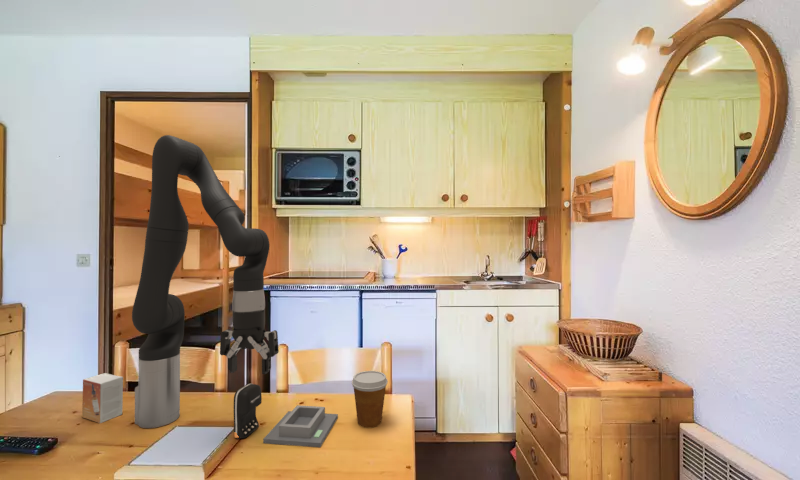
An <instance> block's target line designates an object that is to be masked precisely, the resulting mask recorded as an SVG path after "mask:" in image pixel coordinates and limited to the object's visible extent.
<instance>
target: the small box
mask: <svg viewBox="0 0 800 480" xmlns="http://www.w3.org/2000/svg"><path fill="white" fill-rule="evenodd" d="M123 393H124V377H123V376H121V375H120V376H119V375H115V374H111V373H108V372H104V373H101V374H97V375H94V376H90V377H86V378H83V379H82V406H81V407H82V414H81V417H82V419H83V418H84V419H87V420H90V421H92V422H95V423H98V424H102V423H105V422H106V421H109V420H111V419H114V418H117V417H119V416H121V415H123V404H124V401H123V395H124V394H123Z"/></svg>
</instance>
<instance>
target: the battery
mask: <svg viewBox="0 0 800 480" xmlns="http://www.w3.org/2000/svg"><path fill="white" fill-rule="evenodd" d="M262 397H263V396H262V388H261V386H260V385H259V384H254V383H247V384H245V385H244V386H242V387H239V389H237V390H236V391H235V393H234V396H233V433H234V432H236V433H237V435H238V436H239V438H238V439H246V438H248V437H249V436H251V434H253V433H254V432H255V431H256V430H257V429H258V428H259V426H260V425H259V424H260V423H259V421H258V419H257V407H259V406H260V405H261V404H262V399H263V398H262Z"/></svg>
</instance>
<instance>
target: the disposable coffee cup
mask: <svg viewBox="0 0 800 480" xmlns="http://www.w3.org/2000/svg"><path fill="white" fill-rule="evenodd" d="M351 385H352V387H353V392H354V393H353V394H354V401H355V410H356V419H357V424H358V426H360V427H362V428H367V429H369V428H376V427H378V426H379V425H381V424H382V421H383V420H382V419H383V411H384V405H385V395H386V386H387V385H388V378H387V375H386V374H385V373H384V372H381V371H377V370H365V371H360V372H358V373H355V374H354V376H353V379H351Z"/></svg>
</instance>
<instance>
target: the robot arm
mask: <svg viewBox="0 0 800 480" xmlns="http://www.w3.org/2000/svg"><path fill="white" fill-rule="evenodd" d="M151 156H152V157H151V163H152V164H151V194H150V196H151V197H150V205H149V213H148V221H147V224H146V226H147V228H146V234H145V241H144V242H145V243H144V250H143V257H142V263H141V264H142V265H141V271H140V272H141V273H140V279H139V283H138V287H137V290H136V295H135V298H134V302H133V306H132V311H131V320H132V324H133V326H134V328H135V329H136V331H138V332H139V333H142V334H144V335H147V337H146V339H145V341H144V342H143V343H142V345H140V347H139V349H138V385H137V386H135V387H134V425H137V426H138V427H140V428H142V429H154V428H159V427H163V426H165V425H166V426H167V425H169V424H171V423H174V422H175V421H176V420H177V419H179V418H180V413H181V409H180V407H181V403H180V402H181V346H182V343H183V342H184V334H185V319H186V318H185V306H184V303H183V302H182V300H181V299H180V297H178V296H177V295H175V294H172V293H171V294H170V293H169V292H170V291H169V290H170V285H171V282H172V281H171V280H172V278H173V275H174V273H175V271H176V269H177V267H178V266H179V264H180V262H181V260H182V258H183V256H184V254H185V252H186V248H187V245H188V235H189V230H190V229H189V228H190V226H189V220H188V216H187V215H186V211H185V210H184V207H183V204H182V202H181V198H180V197H179V191H178V181H179V175H180V176H186V177H188V178H189V179H190V180H191V181H192V182H193V183H194V184H195V185H196V186H197V188H198V189H199V191H200V200H201V205H202V207H203V208H204V211H205V213H206V215H208V217H209V218H210V219H211V221H212V222H213V223H214V224H215V226H216V227H217V228H218V229H217V230H218V232H219V235H220V237H221V240H222V243H223V245H224V247H225V249H226V250H227V251H228V252H229V253H231V254H232V255H233V256H235V257H243V258H244V259H243V263H242V264H241V265H240V266H237V267H236V268H235V269H234V270H233V277H232V279H233V294H232V300H231V301H232V303H231V304H232V328H233V330H231V329H230V328H229V329H226V330H223V331H221V332H220V340H219V343H220V345H219V355H221V356H225V357H226V358H227V369H228V371H229V373H230V374H232V373H235V372H237V371H238V355H237V353H238V352H239V351H240V350H255V351H256V352H257V353H259V354H260V356H261V357H262V359H261V374H262V375H267V374H268V373H269V372H270V370H271V368H272V360H271V359H272V358H273V357H275V356H276V355H278V354H279V352H280V351H279V349H280V348H279V338H278V337H279V336H278V331H277V330H272V331H266V329H265V325H266V298H265V284H264V281H265V279H264V271H265V269H266V265H267V263H268V262H267V260H268V257H269V253H270V239H269V236H268V234H267V233H266V232H265V231H264V230H262V229H260V228H249V227H244V226H243V224H244V223H245V219H246V217H245V214H244V211H243V210H242V209H241V208H240V207H239V206H238V205H237V203H236V202H235V200H234V199H233V198H232V197H231V196H230V194H229V192H228V191H226V188H225V187H224V186H223V184H222V183H221V181H220V179H219V177H218V176H217V174H216V173H215V170H214V169H213V167H212V165H211V163H210V161H209V159H208V157H207V156H206V154H205V152H204V151H203V150H202V148H201V147H200V146H199V145H197V144H195V143H193V142H190V141H188V140H185V139H182V138H179V137H177V136H174V135H170V134H169V135H168V134H166V135H162V136H160V137H159V138H158V140H156V142H155V144H154V147H153V151H152V155H151ZM232 338H233V340H234V341H235V342H234V343H233V345H232V346H231V341H232V340H231V339H232ZM265 338H266V340H267V341H268V344H267V342H266V341H265Z"/></svg>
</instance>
